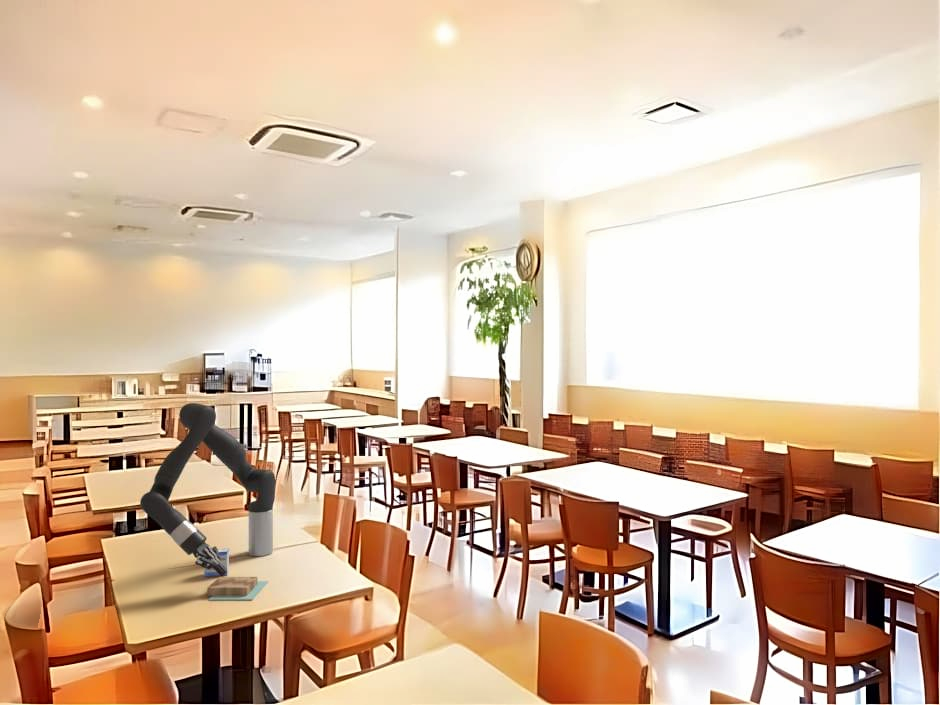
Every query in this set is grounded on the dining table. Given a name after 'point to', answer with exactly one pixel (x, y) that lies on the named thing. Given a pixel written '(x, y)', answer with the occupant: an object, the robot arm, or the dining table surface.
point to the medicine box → (224, 561)
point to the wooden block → (232, 586)
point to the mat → (249, 597)
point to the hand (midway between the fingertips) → (224, 573)
